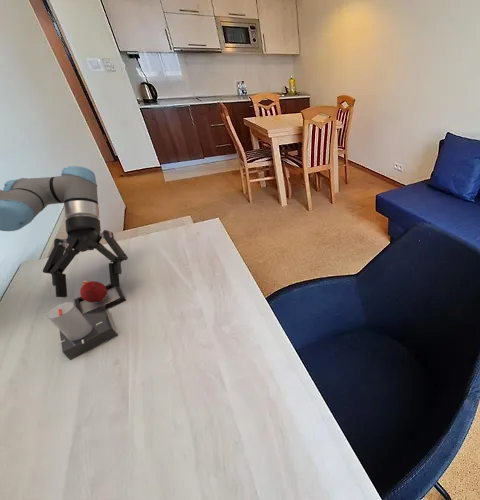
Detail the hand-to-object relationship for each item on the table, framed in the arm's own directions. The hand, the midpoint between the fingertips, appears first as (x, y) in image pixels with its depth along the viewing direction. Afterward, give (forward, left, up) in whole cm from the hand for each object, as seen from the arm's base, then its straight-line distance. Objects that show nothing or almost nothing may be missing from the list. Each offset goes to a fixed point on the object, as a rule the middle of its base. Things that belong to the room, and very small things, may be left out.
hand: (88, 291), depth 84 cm
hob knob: (+14, -4, -2) cm, 14 cm away
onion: (-1, +1, -5) cm, 6 cm away
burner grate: (-1, +1, -5) cm, 5 cm away
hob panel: (+12, -3, -5) cm, 13 cm away
